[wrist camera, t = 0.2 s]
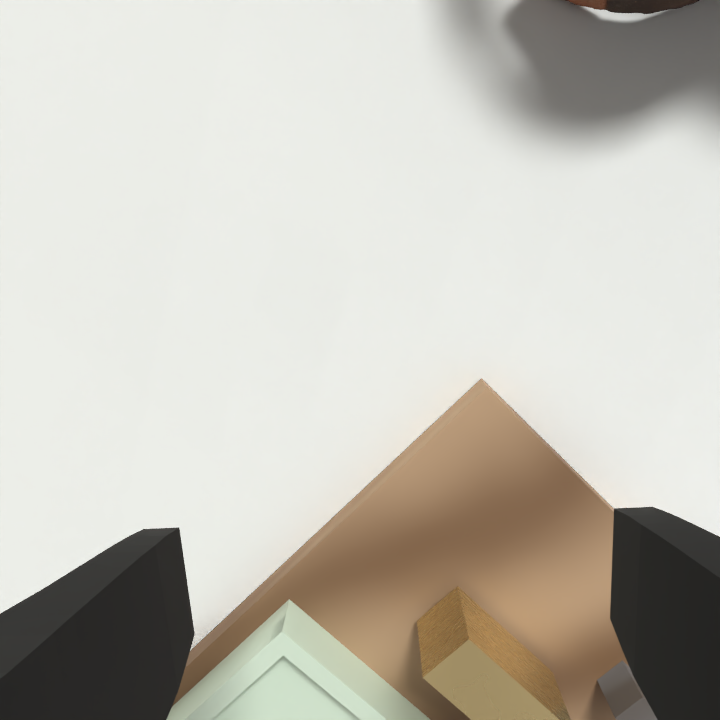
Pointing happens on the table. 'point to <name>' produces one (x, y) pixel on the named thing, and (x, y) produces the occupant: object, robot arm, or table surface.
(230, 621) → the board
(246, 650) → the tray
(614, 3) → the brown piece
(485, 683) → the tan rectangular block
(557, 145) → the table surface
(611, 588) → the robot arm
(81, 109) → the table surface
